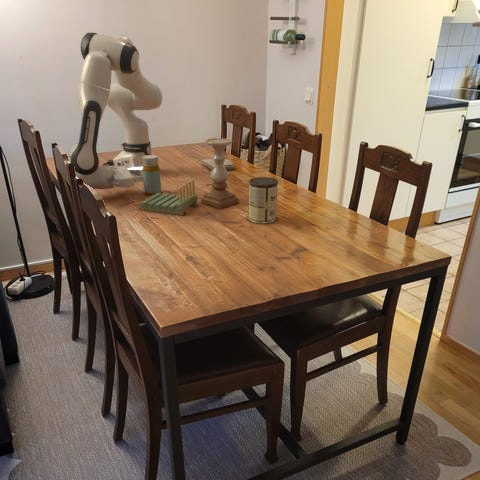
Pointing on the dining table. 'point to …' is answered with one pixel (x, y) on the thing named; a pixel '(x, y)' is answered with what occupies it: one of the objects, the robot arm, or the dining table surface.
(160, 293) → the dining table surface
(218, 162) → the candle holder
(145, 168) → the bottle
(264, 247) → the dining table surface
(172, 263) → the dining table surface
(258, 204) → the coffee can
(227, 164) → the washcloth
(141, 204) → the rack
